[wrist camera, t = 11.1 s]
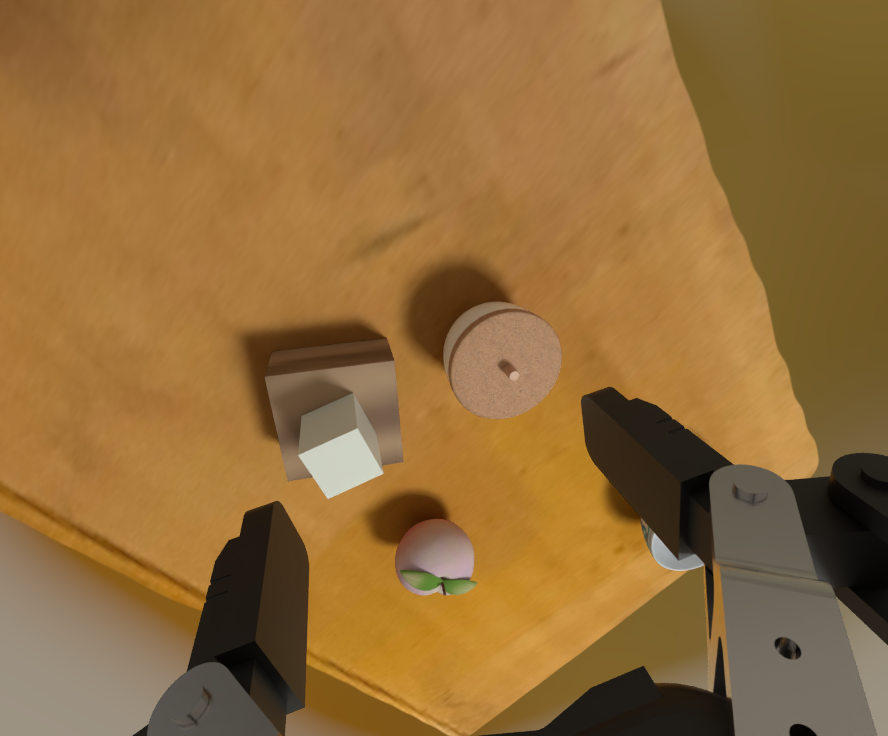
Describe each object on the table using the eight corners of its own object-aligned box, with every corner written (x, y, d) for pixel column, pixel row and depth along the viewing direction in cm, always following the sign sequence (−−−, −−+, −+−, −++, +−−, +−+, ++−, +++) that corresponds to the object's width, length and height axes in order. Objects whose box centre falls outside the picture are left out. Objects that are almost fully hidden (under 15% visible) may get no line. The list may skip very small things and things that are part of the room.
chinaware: (634, 545, 68) (669, 588, 61) (602, 482, 61) (637, 523, 54) (721, 491, 67) (765, 529, 61) (698, 422, 60) (745, 456, 54)
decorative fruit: (470, 500, 57) (497, 563, 48) (454, 550, 60) (476, 618, 51) (397, 496, 54) (411, 562, 45) (383, 549, 57) (394, 621, 48)
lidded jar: (451, 399, 50) (476, 446, 42) (417, 313, 45) (437, 348, 37) (539, 361, 51) (581, 400, 42) (515, 272, 46) (557, 297, 37)
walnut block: (271, 350, 44) (264, 376, 38) (386, 337, 46) (394, 360, 40) (292, 445, 48) (287, 481, 43) (395, 430, 50) (403, 461, 45)
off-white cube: (301, 416, 40) (298, 455, 35) (353, 392, 41) (357, 428, 35) (327, 456, 43) (327, 499, 37) (376, 434, 43) (383, 473, 38)
